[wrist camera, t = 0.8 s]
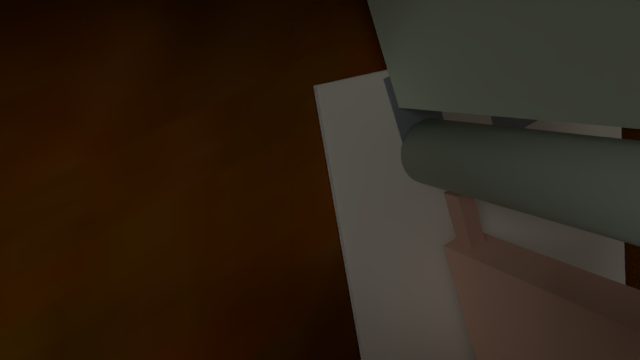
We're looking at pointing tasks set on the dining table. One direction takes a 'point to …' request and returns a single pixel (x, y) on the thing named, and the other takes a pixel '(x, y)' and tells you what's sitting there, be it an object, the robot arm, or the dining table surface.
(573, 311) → the gate panel
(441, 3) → the fence post and fixed panel
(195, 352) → the dining table surface
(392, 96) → the card
